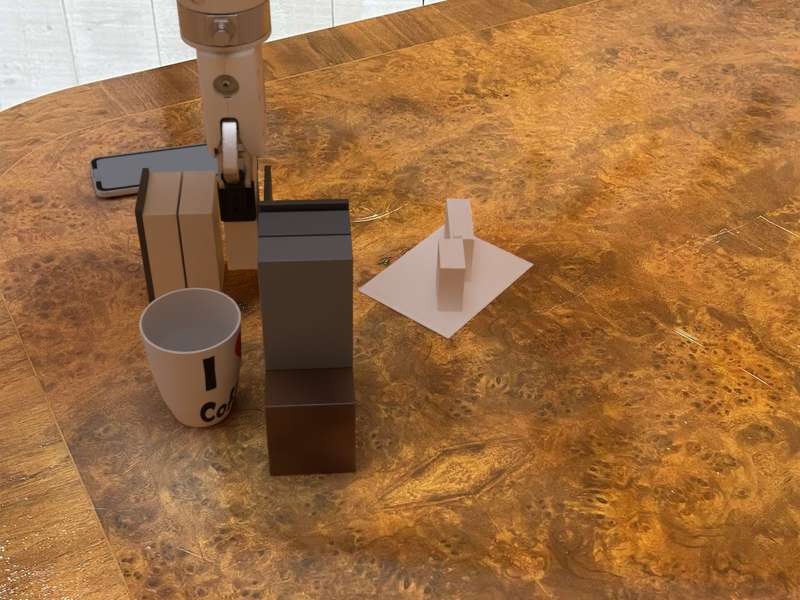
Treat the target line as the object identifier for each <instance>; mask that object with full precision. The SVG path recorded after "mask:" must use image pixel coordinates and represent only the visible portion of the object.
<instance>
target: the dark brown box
mask: <svg viewBox="0 0 800 600" xmlns="http://www.w3.org/2000/svg"><path fill="white" fill-rule="evenodd" d="M264 372H265V373H264V418H265V431H266V445H267V458H268V460H267V461H268V469H269V470H268V471H269V472H268V473H269V475H270V476H287V475H308V474H309V475H311V474H332V473H354V472H356V471H357V470H356V465H357V463H356V462H357V461H356V458H357V457H356V455H357V453H356V452H357V449H356V448H357V447H356V446H357V445H356V444H357V443H356V440H357V439H356V438H357V437H356V436H357V435H356V434H357V432H356V431H357V430H356V429H357V428H356V427H357V426H356V425H357V423H356V422H357V421H356V420H357V419H356V417H357V414H356V413H357V411H356V410H357V406H356V405H357V403H356V402H357V400H356V388H355V374H354V373H355V372H354V366H353V367H344V368H317V369H289V370H265V369H264Z"/></svg>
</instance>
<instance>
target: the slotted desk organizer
mask: <svg viewBox="0 0 800 600" xmlns="http://www.w3.org/2000/svg"><path fill="white" fill-rule="evenodd" d="M263 169H264V170H263V201H266V200H274V197H273V179H272V165H270V164H266V165H264V167H263ZM135 200H136V201H135V206H134V216H135V223H136V229H137V235H138V241H139V248H140V254H141V260H142V266H143V272H144V278H145V279H144V280H145V285H146V291H147V292H146V293H147V297H148V305H149V304H150V303H151V302H153V301H154V300H155V299H157V298H159V297H160V296H162V295H164V294H167V293H169V292H172V291H176V290H180V289H186V288H207V289H212V290H216V291H219V292H221V293H224V278H225V277H224V276H225V265H226V264H225V263H226V262H225V252H224V251H225V250H224V241H223V229H222V221H221V218H220V208H219V199H218V189H217V178H216V171H186V172H184V175H183V179H182V172H150V173H149V168H142V173H141V179H140V184H139V189H138V193H137V195H136V199H135Z"/></svg>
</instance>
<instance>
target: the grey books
mask: <svg viewBox="0 0 800 600" xmlns="http://www.w3.org/2000/svg"><path fill="white" fill-rule="evenodd" d="M258 206H259V221H258V254H257V265H258V269H257V278H258V290H259V291H258V292H259V302H260V303H259V304H260V305H259V307H260V317H261V318H260V320H261V329H262V330H261V333H262V345H263V348H262V349H263V357H264V358H263V359H264V361H263V362H264V371H265V370H289V369H317V368H344V367H353V368H354V250H353V240H352V239H353V238H352V225H351V213H350V199H349V198H315V199H313V198H312V199H309V198H307V199H277V200H276V199H273V200H266V201H264V200H260V201H259V203H258Z"/></svg>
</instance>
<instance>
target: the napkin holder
mask: <svg viewBox="0 0 800 600" xmlns="http://www.w3.org/2000/svg"><path fill="white" fill-rule="evenodd" d="M445 203H446V204H445V218H444V224H443V225H442V226H439V228H437V229H436V230H435V231H433V232H432V233H430V234H429V235H428V236H427V237H426V238H424V239H423V240H422V241H420V242H419V243H417V244H416V245H414V246H413V247H412V248H411V249H410V250H409V251H407V252H405V253H404V254H403V255H402V256H400V257H399V258H398V259H397V260H395V261H394V262H392V263H391V264H390V265H388V266H387V267H386V268H384V269H383V270H382V271H380V272H379V273H377V274H376V275H375V276H374V277H372V278H371V279H370V280H369V281H367V282H366V283H365V284H363V285H362V286H360V287H358V289H357V291H358V292H360V293H361V294H364V295H365V296H367V297H370V298H371V299H373V300H375V301H377V302H379V303H380V304H383V305H385V306H386V307H388V308H390V309H392V310H394V311H396V312H398V313H399V314H401V315H403V316H406V317H407V318H408V319H411V320H413V321H415V322H416V323H417V324H420V325H421V326H423V327H426V328H427V329H429V330H431V331H432V332H435V333H437V334H439V335H440V336H442V337H444V338H446V339H450V338H451V337H452V336H453V335H455V334H456V333H457V332H458V331H459V330H460V329H461V328H463V327H464V326H465V325H466V324H467V323H468V322H469V321H471V320H472V319H473V318H474V317H476V316H477V315H478V314H479V313H480V312H481V311H482V310H483V309H485V308H486V307H487V306H488V305H489V304H491V302H492V301H494V300H495V299H496V298H497V297H498V296H500V295H501V294H502V293H503V292H504V291H506V289H508V288H509V287H510V286H511V285H512V284H513V283H514V282H516V281H517V280H518V279H519V278H520V277H521V276H522V275H524V274H525V273H526V272H527V271H529V269H531V268H532V267H533V266H534V265H535V264H534V263H532V262H530V261H528V260H526V259H524V258H521V257H519V256H517V255H515V254H513V253H511V252H509V251H507V250H505V249H502V248H500V247H498V246H496V245H494V244H492V243H490V242H488V241H486V240H483V239H481V238H479V237H477V236H475V233H474V223H473V216H472V206H471V199H470V198H446V202H445Z"/></svg>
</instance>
